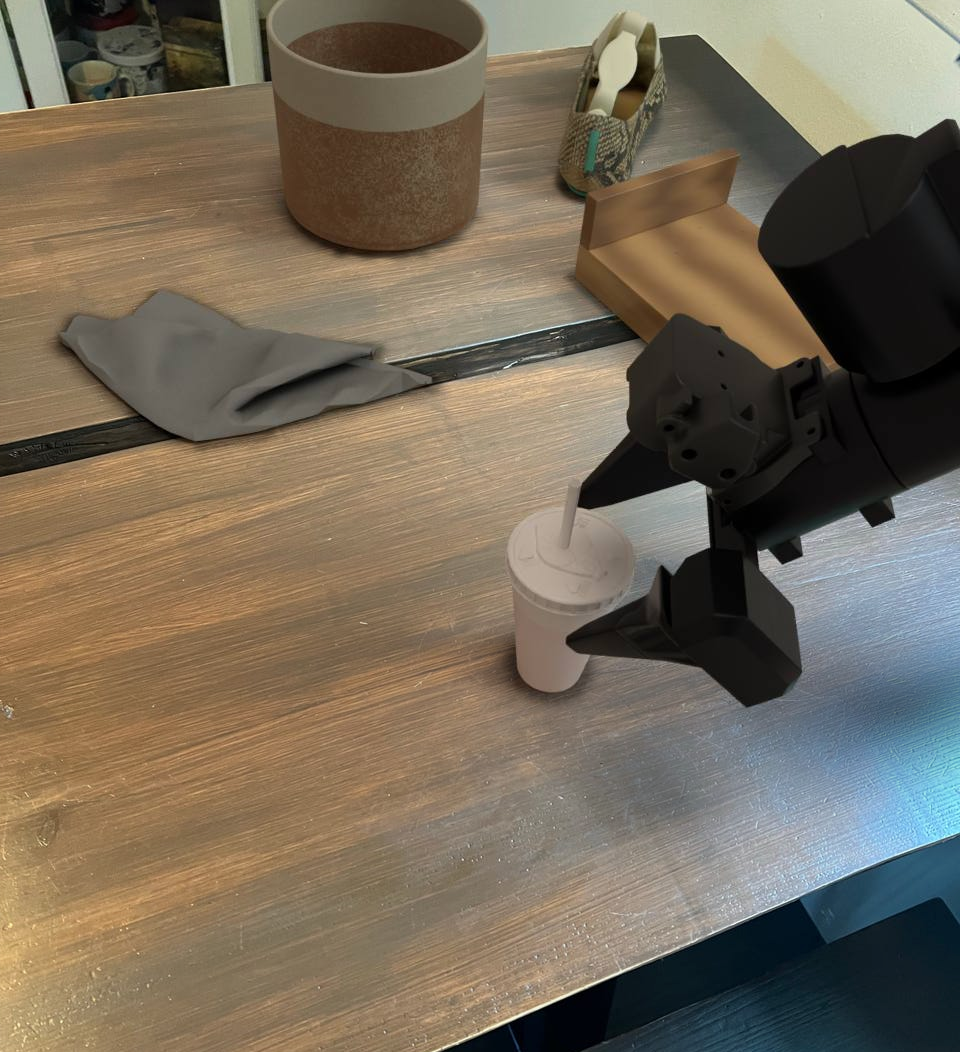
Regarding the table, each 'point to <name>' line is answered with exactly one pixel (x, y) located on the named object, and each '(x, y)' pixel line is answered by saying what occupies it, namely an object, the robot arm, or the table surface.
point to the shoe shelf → (689, 261)
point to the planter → (379, 117)
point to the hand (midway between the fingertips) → (573, 570)
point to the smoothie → (563, 585)
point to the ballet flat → (613, 104)
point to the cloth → (225, 369)
